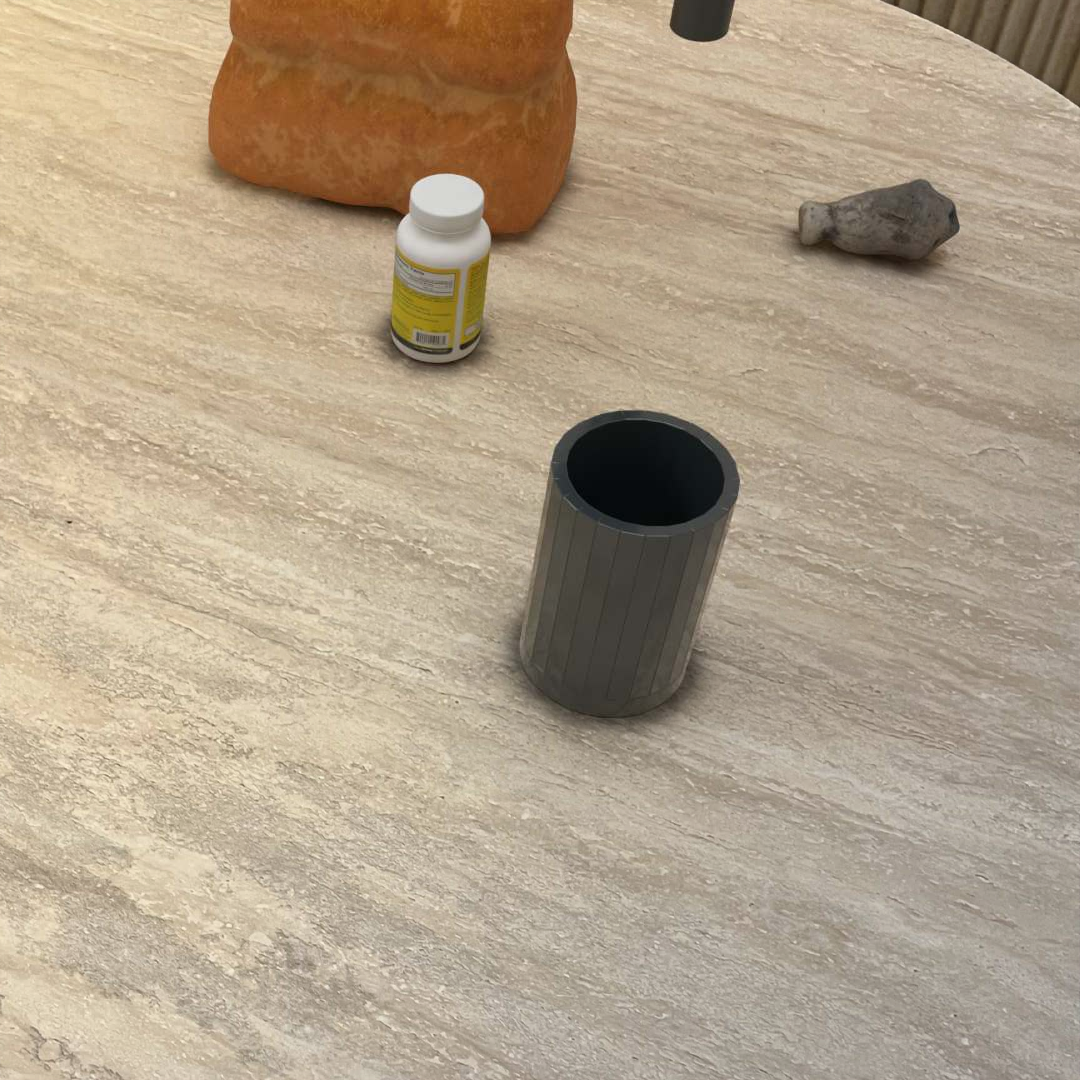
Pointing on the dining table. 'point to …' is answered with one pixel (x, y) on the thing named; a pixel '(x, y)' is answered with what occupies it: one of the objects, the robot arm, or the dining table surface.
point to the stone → (883, 221)
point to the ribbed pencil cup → (625, 560)
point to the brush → (701, 19)
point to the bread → (399, 100)
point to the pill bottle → (440, 270)
